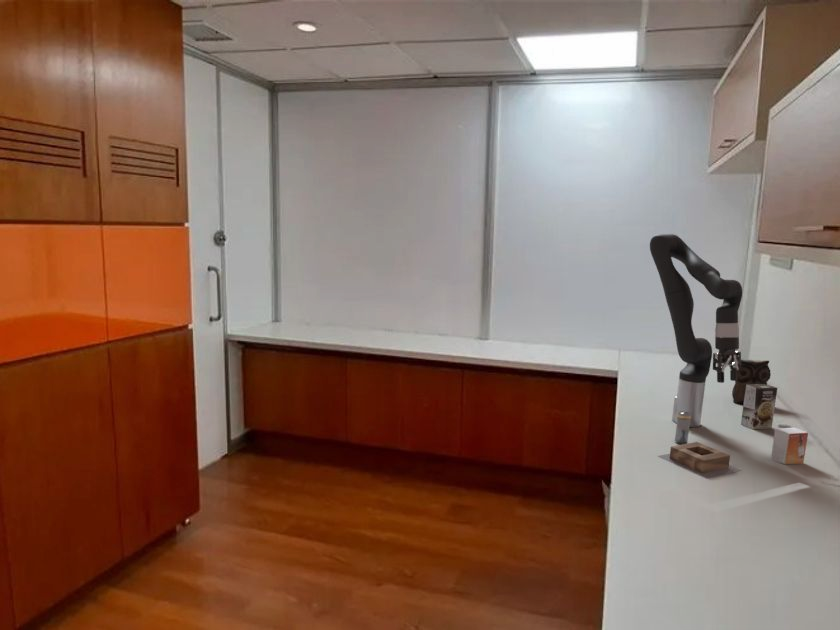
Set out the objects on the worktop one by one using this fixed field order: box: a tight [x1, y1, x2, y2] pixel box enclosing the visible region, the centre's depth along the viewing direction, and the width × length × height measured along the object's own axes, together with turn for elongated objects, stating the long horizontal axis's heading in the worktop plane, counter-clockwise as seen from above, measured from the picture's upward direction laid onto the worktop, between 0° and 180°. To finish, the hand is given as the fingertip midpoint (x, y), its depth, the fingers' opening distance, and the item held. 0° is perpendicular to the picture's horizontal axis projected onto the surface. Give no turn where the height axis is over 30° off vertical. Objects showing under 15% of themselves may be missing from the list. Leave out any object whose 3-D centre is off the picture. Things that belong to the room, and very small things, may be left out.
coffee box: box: [740, 384, 778, 430], centre depth 231 cm, size 9×6×16 cm
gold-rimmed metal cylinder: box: [674, 411, 691, 445], centre depth 205 cm, size 4×4×12 cm
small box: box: [770, 427, 809, 465], centre depth 197 cm, size 8×6×10 cm
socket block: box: [669, 441, 731, 473], centre depth 188 cm, size 12×12×4 cm
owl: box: [731, 359, 771, 406], centre depth 262 cm, size 13×13×20 cm
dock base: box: [657, 453, 742, 479], centre depth 188 cm, size 18×16×2 cm
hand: (727, 381), depth 214 cm, fingers open, 8 cm apart
